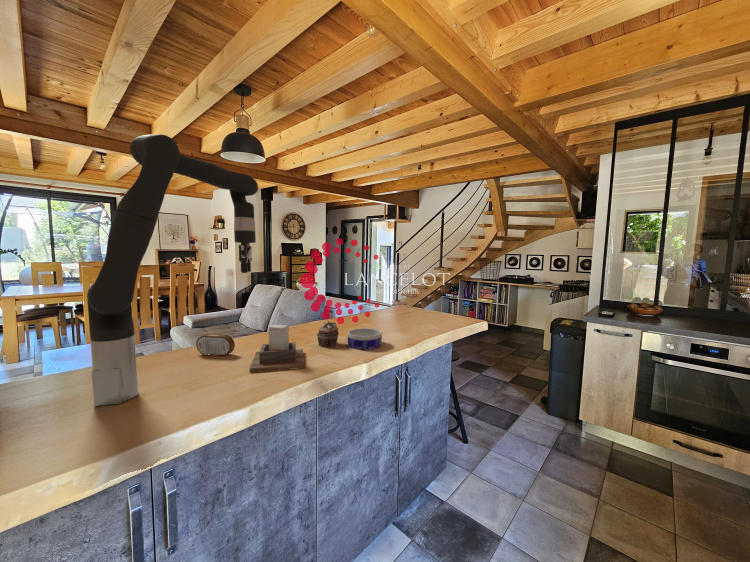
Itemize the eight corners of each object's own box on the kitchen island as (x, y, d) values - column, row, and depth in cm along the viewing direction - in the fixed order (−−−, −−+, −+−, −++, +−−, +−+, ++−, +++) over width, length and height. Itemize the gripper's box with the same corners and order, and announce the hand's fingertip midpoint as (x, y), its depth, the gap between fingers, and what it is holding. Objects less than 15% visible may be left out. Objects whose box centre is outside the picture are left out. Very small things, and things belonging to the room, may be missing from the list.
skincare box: (268, 358, 114) (268, 326, 113) (275, 354, 118) (275, 324, 117) (282, 360, 113) (282, 328, 112) (289, 356, 117) (289, 325, 116)
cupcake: (323, 340, 144) (323, 319, 143) (342, 342, 141) (342, 321, 140) (312, 346, 135) (312, 324, 134) (332, 348, 132) (332, 325, 131)
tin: (235, 354, 124) (234, 333, 123) (231, 357, 120) (230, 336, 120) (200, 353, 125) (199, 332, 124) (195, 355, 122) (194, 334, 121)
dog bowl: (355, 339, 147) (355, 326, 147) (385, 342, 143) (385, 329, 142) (341, 348, 133) (341, 334, 132) (375, 351, 128) (375, 337, 128)
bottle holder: (303, 368, 109) (303, 352, 108) (249, 372, 104) (249, 356, 104) (303, 352, 126) (302, 339, 126) (256, 355, 122) (256, 342, 121)
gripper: (252, 229, 112) (254, 273, 113) (257, 231, 126) (258, 271, 127) (230, 228, 110) (231, 273, 111) (237, 231, 124) (239, 271, 125)
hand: (246, 272), depth 119 cm, fingers open, 8 cm apart
